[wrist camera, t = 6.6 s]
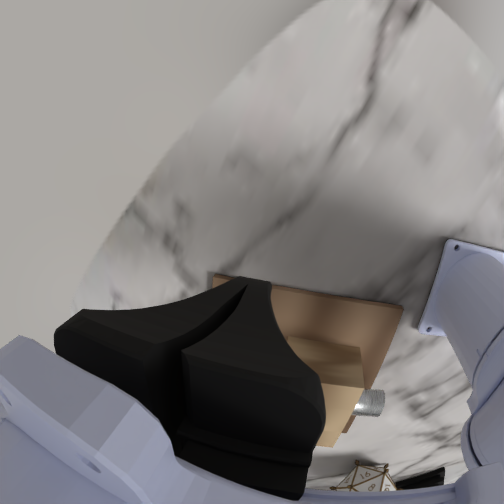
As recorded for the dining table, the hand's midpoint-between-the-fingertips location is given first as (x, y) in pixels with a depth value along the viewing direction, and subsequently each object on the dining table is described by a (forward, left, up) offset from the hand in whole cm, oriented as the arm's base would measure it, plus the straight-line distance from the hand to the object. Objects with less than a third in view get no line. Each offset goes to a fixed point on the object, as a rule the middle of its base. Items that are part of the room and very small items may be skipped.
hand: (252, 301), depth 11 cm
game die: (-16, +29, -10) cm, 35 cm away
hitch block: (-2, +12, -10) cm, 16 cm away
